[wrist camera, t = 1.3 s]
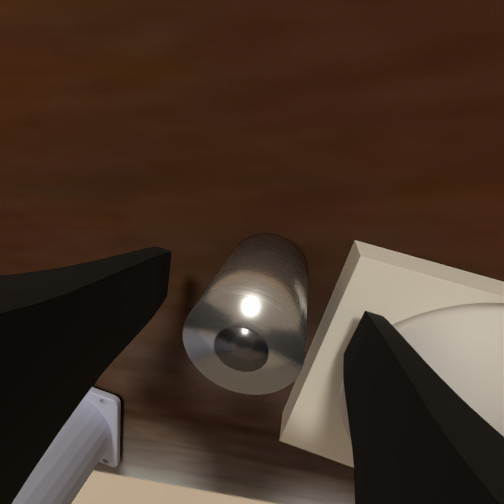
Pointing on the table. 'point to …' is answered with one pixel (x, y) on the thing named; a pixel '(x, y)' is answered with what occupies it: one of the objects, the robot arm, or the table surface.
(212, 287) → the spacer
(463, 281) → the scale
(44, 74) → the table surface
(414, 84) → the table surface
